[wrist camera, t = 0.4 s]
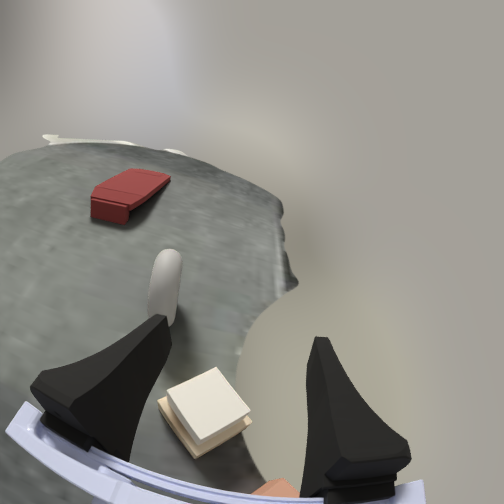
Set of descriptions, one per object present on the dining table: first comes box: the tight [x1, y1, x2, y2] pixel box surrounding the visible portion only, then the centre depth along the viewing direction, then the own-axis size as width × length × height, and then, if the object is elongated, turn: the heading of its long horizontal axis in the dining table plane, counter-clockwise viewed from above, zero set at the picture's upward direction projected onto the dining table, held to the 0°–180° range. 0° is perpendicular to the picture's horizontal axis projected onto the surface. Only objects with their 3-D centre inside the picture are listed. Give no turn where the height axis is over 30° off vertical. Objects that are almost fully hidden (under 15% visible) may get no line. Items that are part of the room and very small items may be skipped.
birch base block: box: [157, 396, 252, 459], centre depth 24 cm, size 7×7×3 cm
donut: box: [148, 249, 182, 326], centre depth 32 cm, size 10×4×10 cm, turn 5°
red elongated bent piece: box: [91, 169, 171, 225], centre depth 58 cm, size 12×5×25 cm
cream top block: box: [167, 367, 251, 445], centre depth 23 cm, size 6×6×3 cm
